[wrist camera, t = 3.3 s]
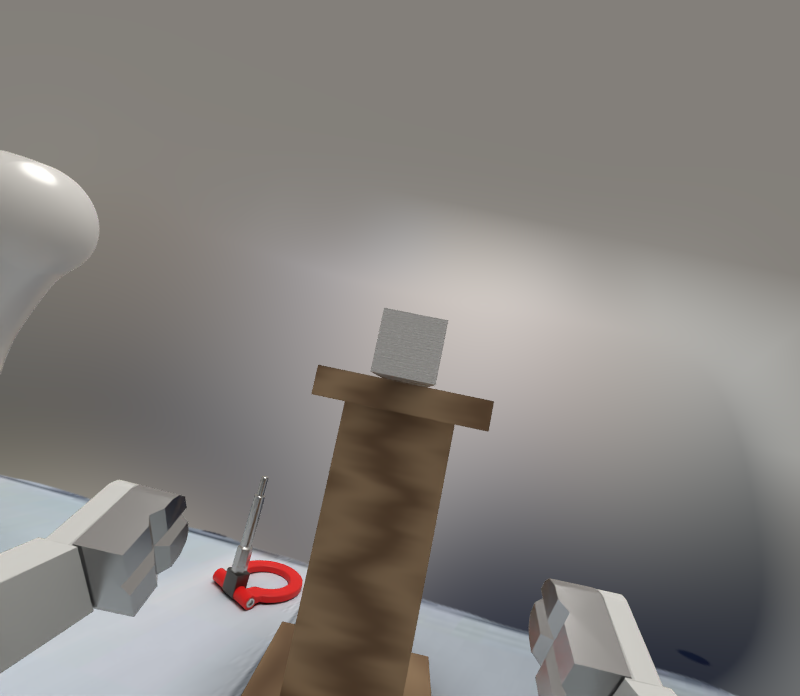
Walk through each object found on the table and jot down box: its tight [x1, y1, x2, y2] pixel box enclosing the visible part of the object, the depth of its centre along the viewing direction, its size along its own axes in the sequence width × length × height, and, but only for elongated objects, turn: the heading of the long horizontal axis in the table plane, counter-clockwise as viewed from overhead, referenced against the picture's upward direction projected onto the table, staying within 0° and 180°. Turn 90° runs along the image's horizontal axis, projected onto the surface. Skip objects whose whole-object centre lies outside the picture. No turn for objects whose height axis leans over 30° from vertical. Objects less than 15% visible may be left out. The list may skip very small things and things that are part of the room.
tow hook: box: [213, 476, 302, 610], centre depth 47 cm, size 8×13×9 cm
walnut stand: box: [241, 365, 494, 696], centre depth 31 cm, size 14×14×26 cm
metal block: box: [371, 308, 448, 387], centre depth 29 cm, size 3×22×3 cm, turn 178°
